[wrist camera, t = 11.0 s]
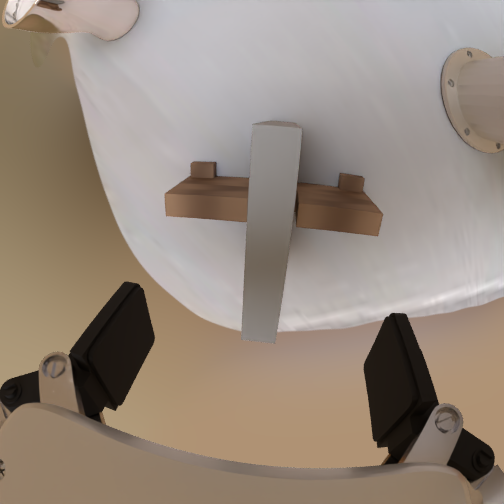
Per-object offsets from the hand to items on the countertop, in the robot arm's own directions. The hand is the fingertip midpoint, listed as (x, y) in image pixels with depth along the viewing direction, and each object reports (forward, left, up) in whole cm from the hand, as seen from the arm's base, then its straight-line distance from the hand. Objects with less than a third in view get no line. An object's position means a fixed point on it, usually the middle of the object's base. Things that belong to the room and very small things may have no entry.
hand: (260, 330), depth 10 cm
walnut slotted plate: (0, 0, -20) cm, 20 cm away
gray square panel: (0, 0, -20) cm, 20 cm away
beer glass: (+19, -21, -20) cm, 35 cm away
